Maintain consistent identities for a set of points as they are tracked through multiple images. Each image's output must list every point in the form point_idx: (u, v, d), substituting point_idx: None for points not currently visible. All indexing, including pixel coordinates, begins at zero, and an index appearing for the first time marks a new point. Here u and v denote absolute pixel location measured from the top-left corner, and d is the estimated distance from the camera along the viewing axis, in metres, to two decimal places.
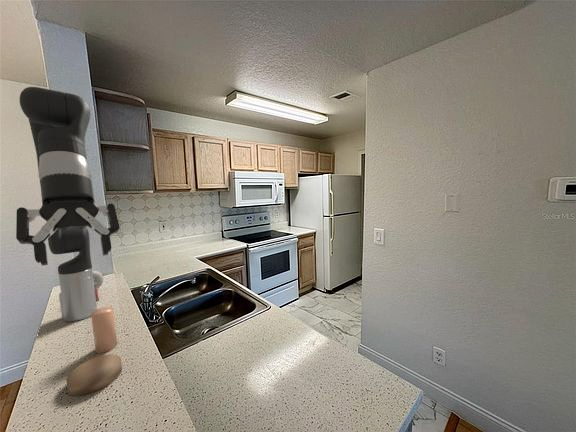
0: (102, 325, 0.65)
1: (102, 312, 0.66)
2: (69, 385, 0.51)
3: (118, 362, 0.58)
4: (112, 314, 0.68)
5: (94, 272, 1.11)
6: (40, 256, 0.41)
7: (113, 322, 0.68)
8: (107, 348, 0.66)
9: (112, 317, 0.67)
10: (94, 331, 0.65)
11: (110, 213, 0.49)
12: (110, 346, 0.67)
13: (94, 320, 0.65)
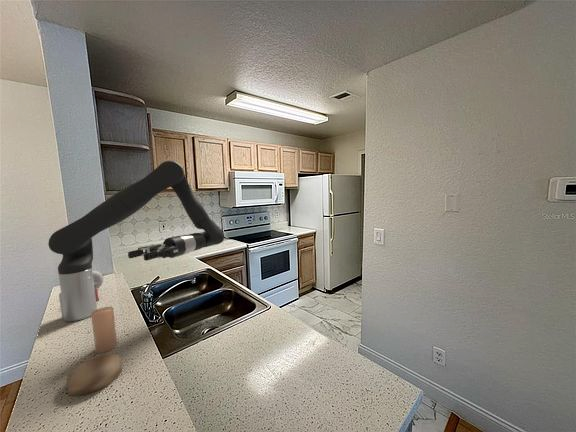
0: (102, 325, 0.65)
1: (102, 312, 0.66)
2: (69, 385, 0.51)
3: (118, 362, 0.58)
4: (112, 314, 0.68)
5: (94, 272, 1.11)
6: (149, 259, 0.75)
7: (113, 322, 0.68)
8: (107, 348, 0.66)
9: (112, 317, 0.67)
10: (94, 331, 0.65)
11: None
12: (110, 346, 0.67)
13: (94, 320, 0.65)
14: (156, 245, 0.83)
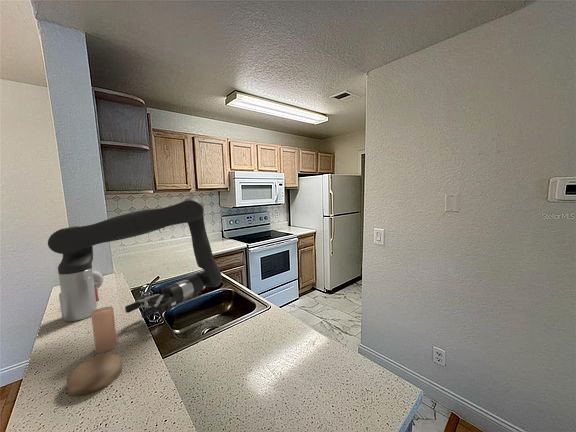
0: (102, 325, 0.65)
1: (102, 312, 0.66)
2: (69, 385, 0.51)
3: (118, 362, 0.58)
4: (112, 314, 0.68)
5: (94, 272, 1.11)
6: None
7: (113, 322, 0.68)
8: (107, 348, 0.66)
9: (112, 317, 0.67)
10: (94, 331, 0.65)
11: None
12: (110, 346, 0.67)
13: (94, 320, 0.65)
14: (154, 296, 0.82)
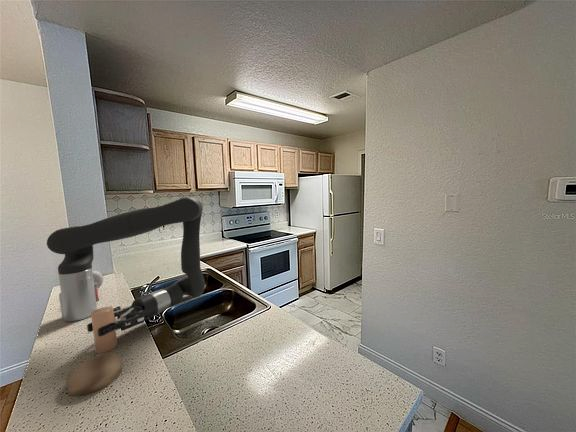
0: (102, 325, 0.65)
1: (102, 311, 0.66)
2: (69, 385, 0.51)
3: (118, 362, 0.58)
4: (112, 314, 0.68)
5: (94, 272, 1.11)
6: None
7: (113, 322, 0.68)
8: (107, 348, 0.66)
9: (112, 317, 0.67)
10: (94, 331, 0.65)
11: None
12: (110, 346, 0.67)
13: (94, 320, 0.65)
14: (123, 309, 0.73)
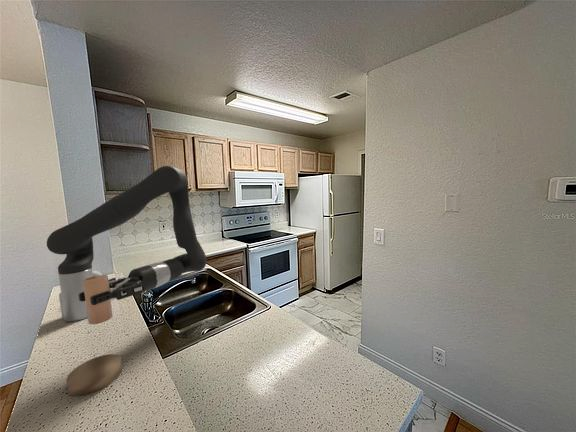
0: (95, 294, 0.59)
1: (95, 279, 0.60)
2: (69, 385, 0.51)
3: (118, 362, 0.58)
4: (107, 283, 0.61)
5: (94, 272, 1.11)
6: (98, 303, 0.59)
7: (108, 291, 0.62)
8: (101, 319, 0.60)
9: (107, 285, 0.61)
10: (86, 300, 0.59)
11: None
12: (105, 317, 0.60)
13: (86, 287, 0.58)
14: (119, 280, 0.67)
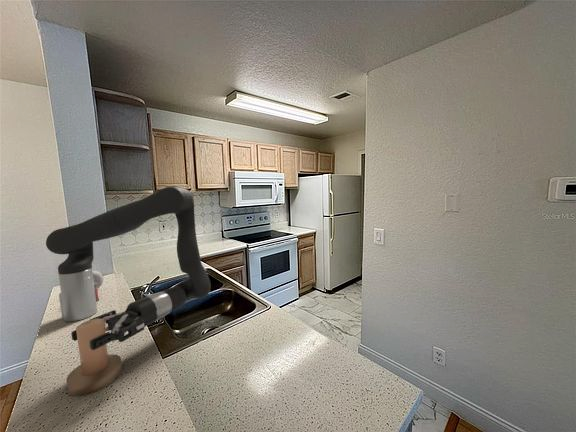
0: (89, 343, 0.53)
1: (89, 325, 0.54)
2: (69, 385, 0.51)
3: (118, 362, 0.58)
4: (103, 328, 0.56)
5: (94, 272, 1.11)
6: (99, 346, 0.53)
7: None
8: (96, 370, 0.54)
9: (102, 332, 0.55)
10: (80, 349, 0.53)
11: None
12: (100, 367, 0.55)
13: (79, 336, 0.53)
14: (115, 316, 0.61)
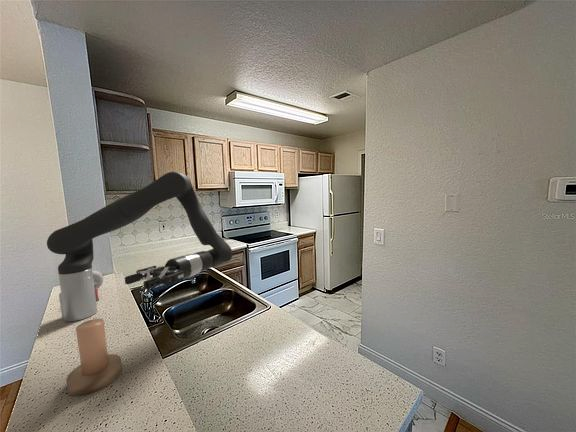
0: (89, 343, 0.53)
1: (89, 325, 0.54)
2: (69, 385, 0.51)
3: (118, 362, 0.58)
4: (103, 328, 0.56)
5: (94, 272, 1.11)
6: (150, 287, 0.63)
7: (103, 338, 0.56)
8: (96, 370, 0.54)
9: (102, 332, 0.55)
10: (80, 349, 0.53)
11: None
12: (100, 367, 0.55)
13: (79, 336, 0.53)
14: (158, 268, 0.72)
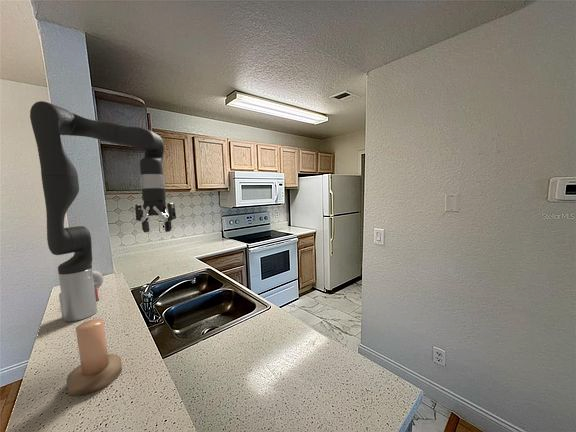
0: (89, 343, 0.53)
1: (89, 325, 0.54)
2: (69, 385, 0.51)
3: (118, 362, 0.58)
4: (102, 328, 0.56)
5: (94, 272, 1.11)
6: None
7: (103, 338, 0.56)
8: (96, 370, 0.54)
9: (102, 332, 0.55)
10: (80, 349, 0.53)
11: None
12: (100, 367, 0.55)
13: (79, 336, 0.53)
14: (148, 211, 0.84)
